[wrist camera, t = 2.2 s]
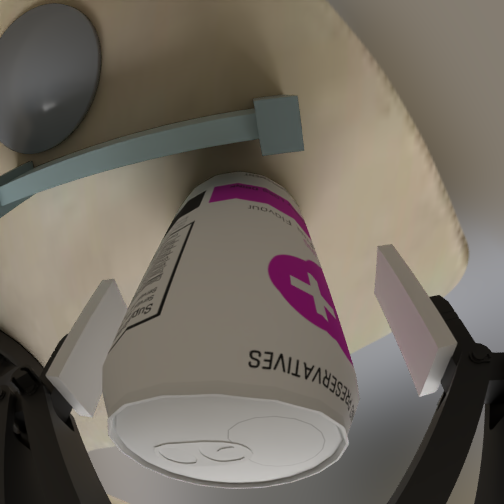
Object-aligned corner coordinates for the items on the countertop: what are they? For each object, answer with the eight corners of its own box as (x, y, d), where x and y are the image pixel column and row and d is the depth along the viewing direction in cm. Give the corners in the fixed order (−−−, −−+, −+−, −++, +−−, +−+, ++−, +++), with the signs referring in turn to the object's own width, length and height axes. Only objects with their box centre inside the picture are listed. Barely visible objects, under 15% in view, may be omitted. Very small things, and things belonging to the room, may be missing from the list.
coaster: (3, 169, 18) (-1, 171, 17) (-18, 48, 12) (-23, 48, 12) (115, 124, 17) (111, 126, 16) (92, -21, 12) (88, -23, 11)
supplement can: (280, 150, 18) (355, 330, 5) (314, 262, 22) (372, 470, 9) (158, 194, 19) (32, 387, 6) (208, 293, 23) (177, 494, 10)
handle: (25, 195, 19) (-19, 226, 14) (16, 167, 18) (-31, 193, 13) (289, 133, 17) (304, 150, 13) (283, 94, 16) (297, 95, 11)
